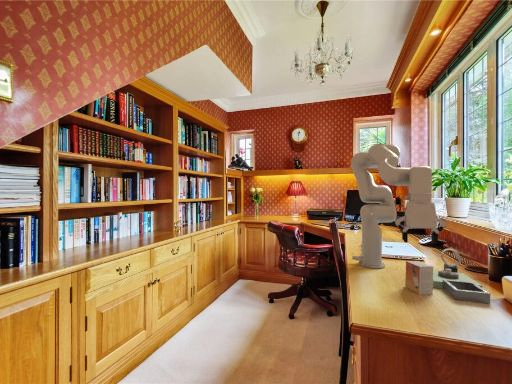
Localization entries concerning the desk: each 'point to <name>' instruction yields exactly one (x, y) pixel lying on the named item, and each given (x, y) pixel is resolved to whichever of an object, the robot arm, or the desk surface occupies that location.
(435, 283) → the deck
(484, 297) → the grey tray
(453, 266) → the watch
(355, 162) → the robot arm
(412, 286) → the small box
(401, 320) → the desk surface
